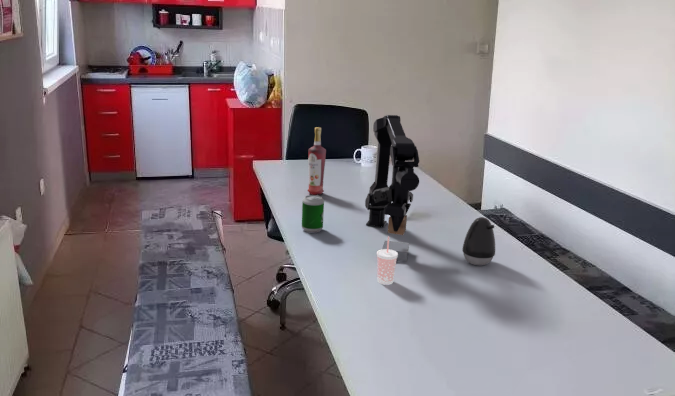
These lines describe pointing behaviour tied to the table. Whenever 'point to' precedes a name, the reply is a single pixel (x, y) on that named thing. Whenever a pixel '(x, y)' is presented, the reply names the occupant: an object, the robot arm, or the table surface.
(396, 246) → the slate block
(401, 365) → the table surface
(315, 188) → the liquor
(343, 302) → the table surface
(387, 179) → the robot arm
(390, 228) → the walnut cube
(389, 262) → the beverage cup
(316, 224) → the soda can
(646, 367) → the table surface
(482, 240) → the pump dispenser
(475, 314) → the table surface
